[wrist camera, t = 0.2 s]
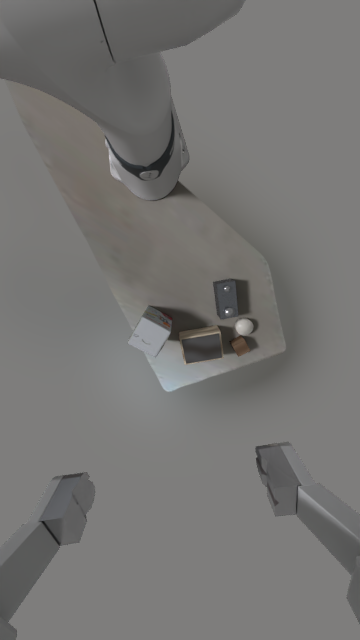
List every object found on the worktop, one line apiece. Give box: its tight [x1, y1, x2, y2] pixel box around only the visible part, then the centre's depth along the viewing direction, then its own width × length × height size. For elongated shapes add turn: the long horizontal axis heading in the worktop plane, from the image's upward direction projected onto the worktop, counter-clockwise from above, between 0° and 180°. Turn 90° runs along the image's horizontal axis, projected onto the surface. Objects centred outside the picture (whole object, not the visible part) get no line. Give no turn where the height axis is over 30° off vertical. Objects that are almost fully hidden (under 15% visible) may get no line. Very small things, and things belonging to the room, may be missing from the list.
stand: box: [179, 325, 224, 365], centre depth 56 cm, size 9×12×5 cm
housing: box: [213, 279, 238, 319], centre depth 52 cm, size 10×5×6 cm, turn 11°
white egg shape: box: [235, 318, 253, 335], centre depth 56 cm, size 5×5×2 cm
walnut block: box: [230, 336, 250, 357], centre depth 57 cm, size 4×4×4 cm
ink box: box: [127, 306, 172, 357], centre depth 51 cm, size 9×9×12 cm
